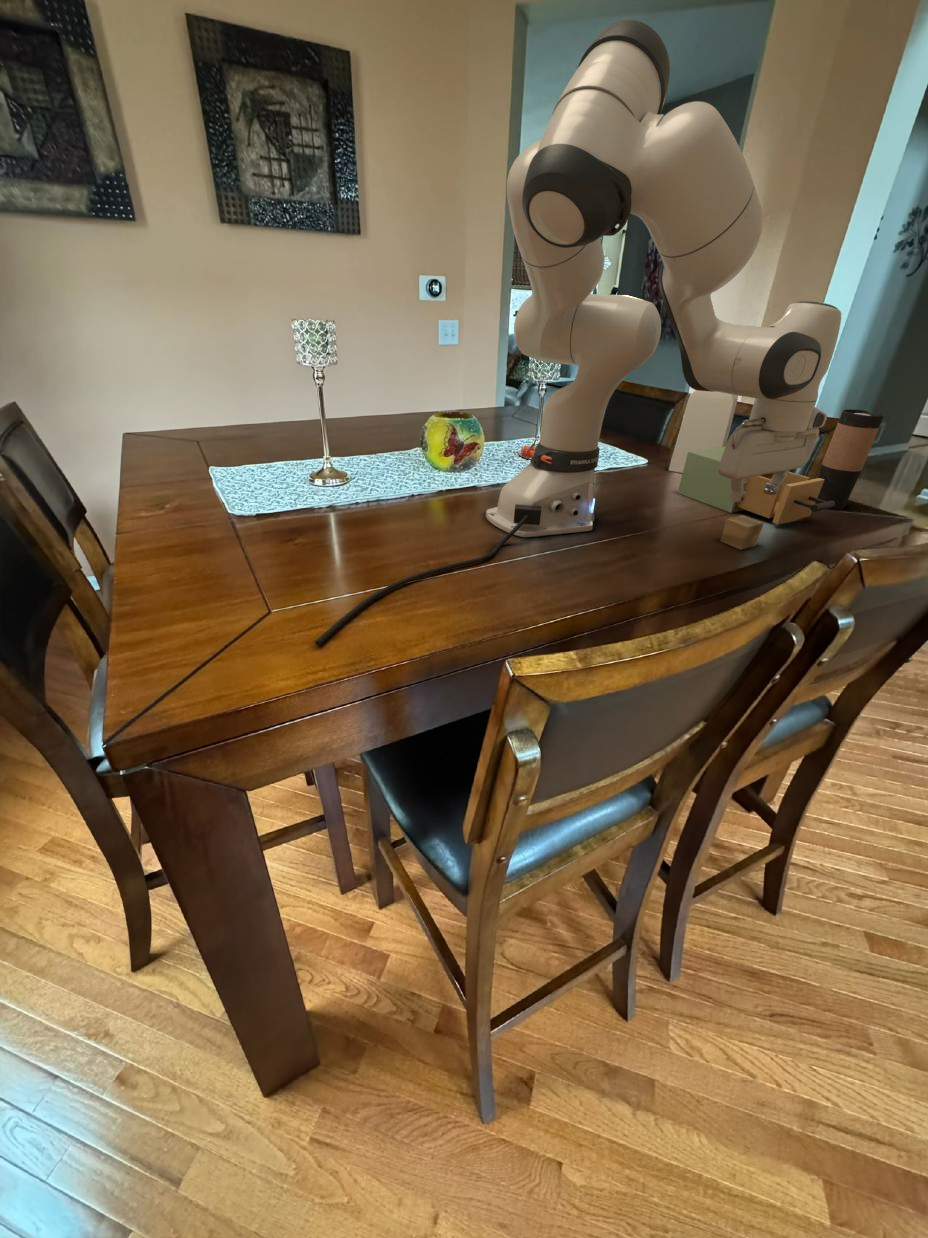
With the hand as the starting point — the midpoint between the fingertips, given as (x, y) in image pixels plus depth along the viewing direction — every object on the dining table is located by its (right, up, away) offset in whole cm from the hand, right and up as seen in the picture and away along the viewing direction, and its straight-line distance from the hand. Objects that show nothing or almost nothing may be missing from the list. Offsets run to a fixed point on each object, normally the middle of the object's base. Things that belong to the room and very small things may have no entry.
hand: (753, 497), depth 96 cm
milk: (+11, +19, +49) cm, 53 cm away
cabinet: (+8, +6, +28) cm, 29 cm away
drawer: (+14, +1, +18) cm, 23 cm away
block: (0, -8, +5) cm, 9 cm away
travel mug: (+31, +4, +27) cm, 42 cm away
